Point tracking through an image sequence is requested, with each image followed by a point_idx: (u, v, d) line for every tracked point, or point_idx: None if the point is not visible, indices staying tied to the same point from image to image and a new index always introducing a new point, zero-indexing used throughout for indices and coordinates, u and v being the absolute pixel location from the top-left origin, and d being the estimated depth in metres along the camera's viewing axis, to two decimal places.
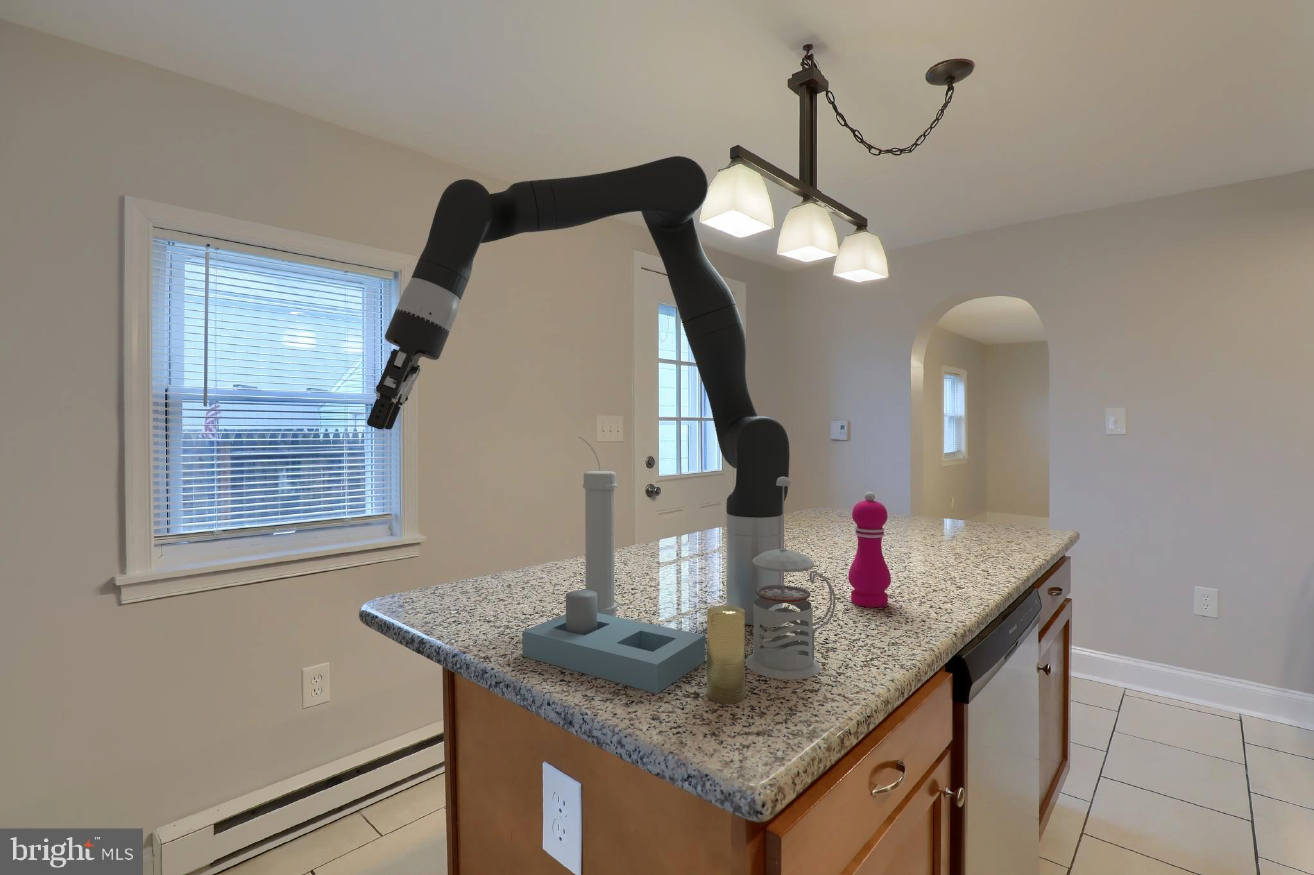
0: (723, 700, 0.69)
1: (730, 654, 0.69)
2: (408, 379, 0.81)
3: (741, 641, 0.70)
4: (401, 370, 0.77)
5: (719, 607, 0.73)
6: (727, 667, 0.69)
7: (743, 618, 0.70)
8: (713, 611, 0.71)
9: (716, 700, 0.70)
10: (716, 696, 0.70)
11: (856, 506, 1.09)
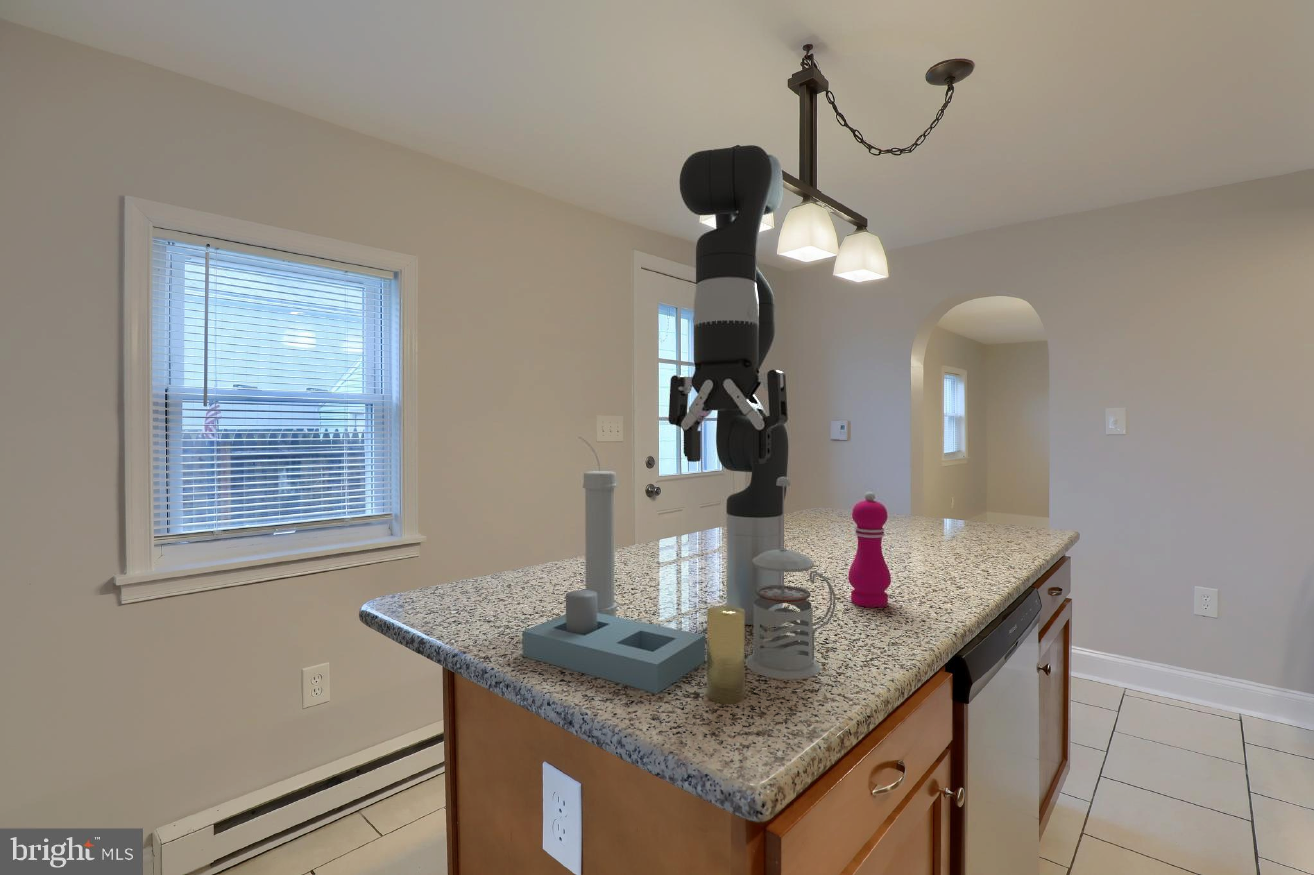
0: (723, 700, 0.69)
1: (730, 654, 0.69)
2: (755, 398, 0.70)
3: (741, 641, 0.70)
4: (784, 391, 0.68)
5: (719, 607, 0.73)
6: (727, 667, 0.69)
7: (743, 618, 0.70)
8: (713, 611, 0.71)
9: (716, 700, 0.70)
10: (716, 696, 0.70)
11: (856, 506, 1.09)
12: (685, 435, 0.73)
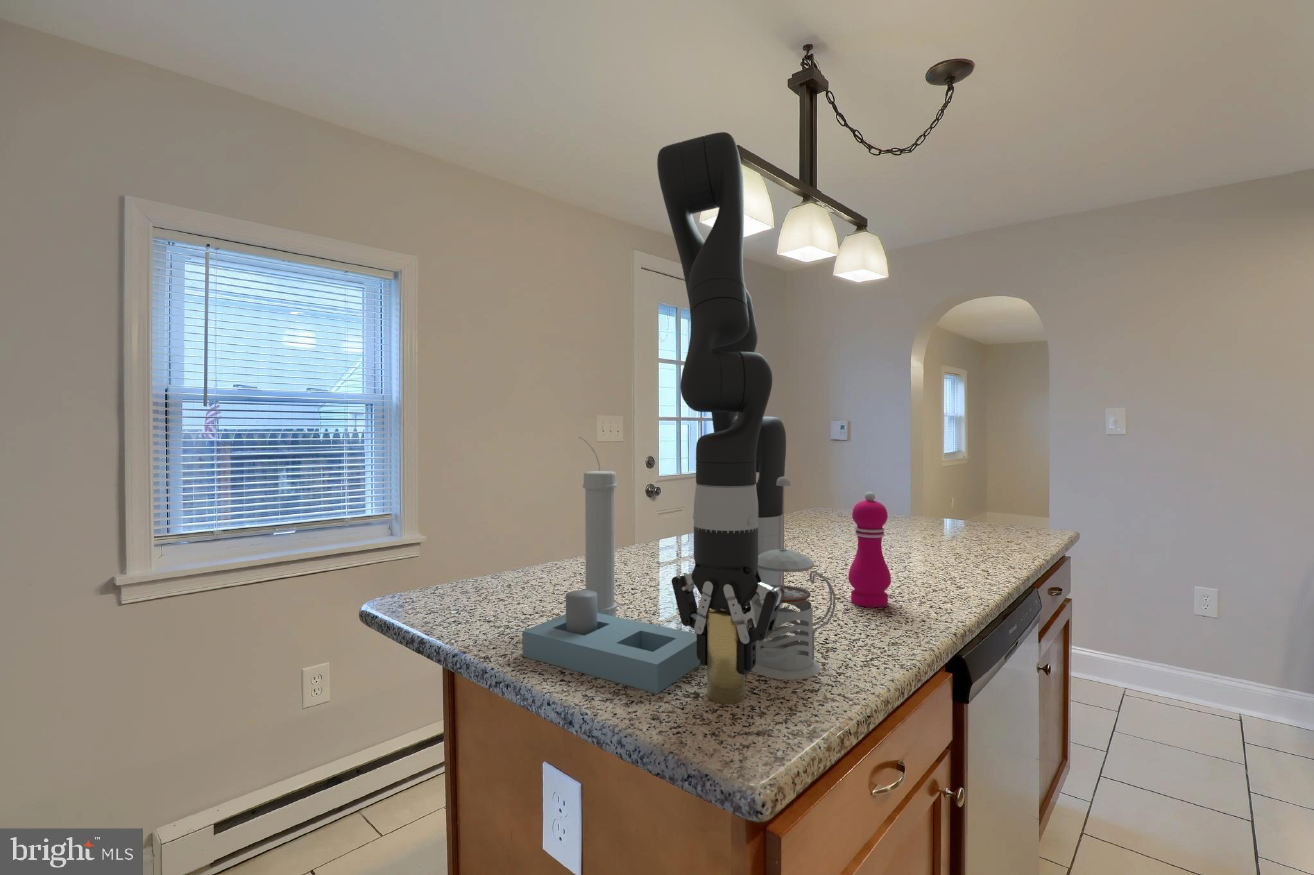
0: (723, 700, 0.69)
1: (730, 654, 0.69)
2: (750, 602, 0.71)
3: None
4: (777, 609, 0.68)
5: None
6: (727, 667, 0.69)
7: None
8: (713, 611, 0.71)
9: (716, 700, 0.70)
10: (716, 696, 0.70)
11: (856, 506, 1.09)
12: (698, 638, 0.72)
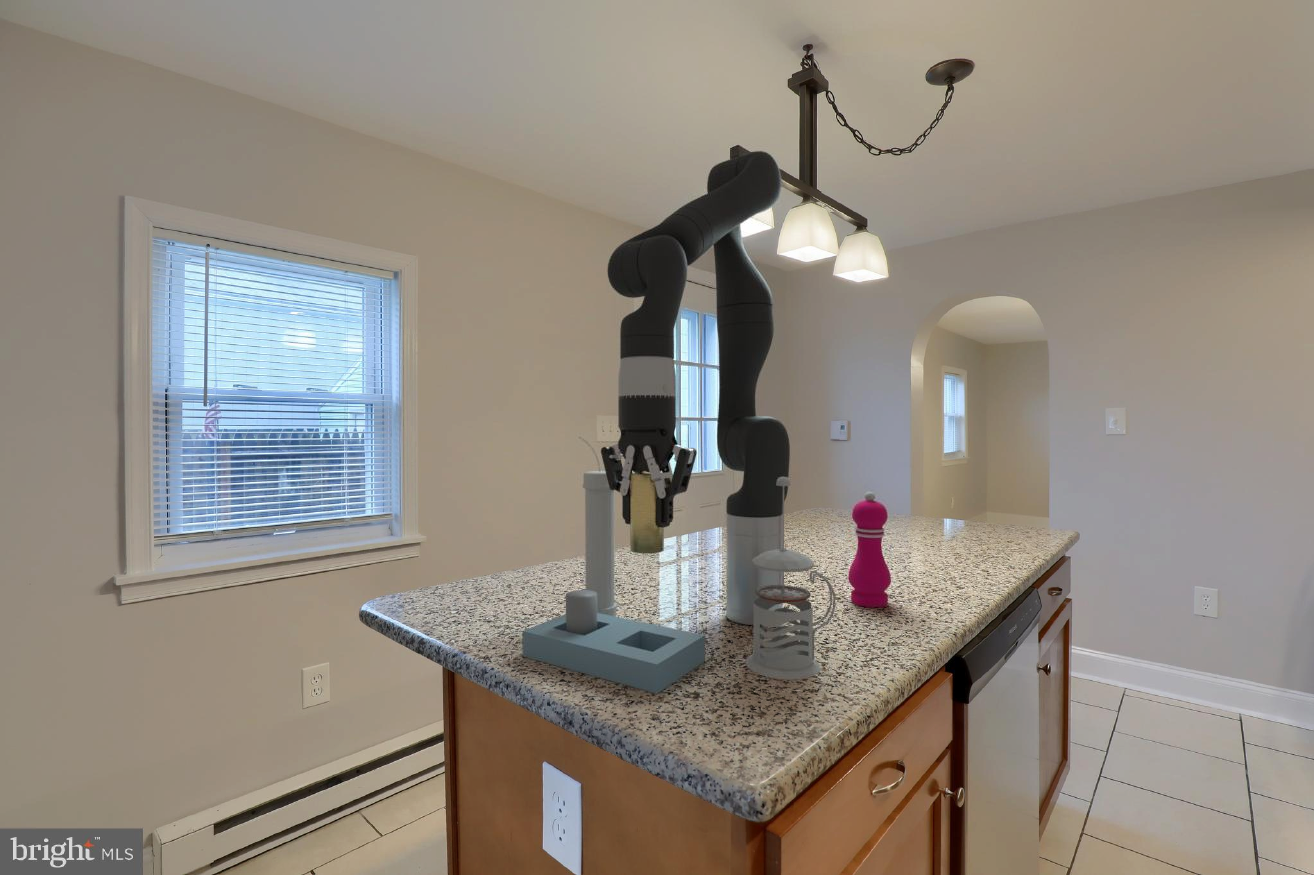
0: (642, 550, 0.77)
1: (649, 508, 0.77)
2: (669, 465, 0.79)
3: None
4: (691, 467, 0.77)
5: None
6: (646, 520, 0.77)
7: None
8: None
9: (637, 551, 0.78)
10: (637, 547, 0.78)
11: (856, 506, 1.09)
12: (624, 500, 0.81)
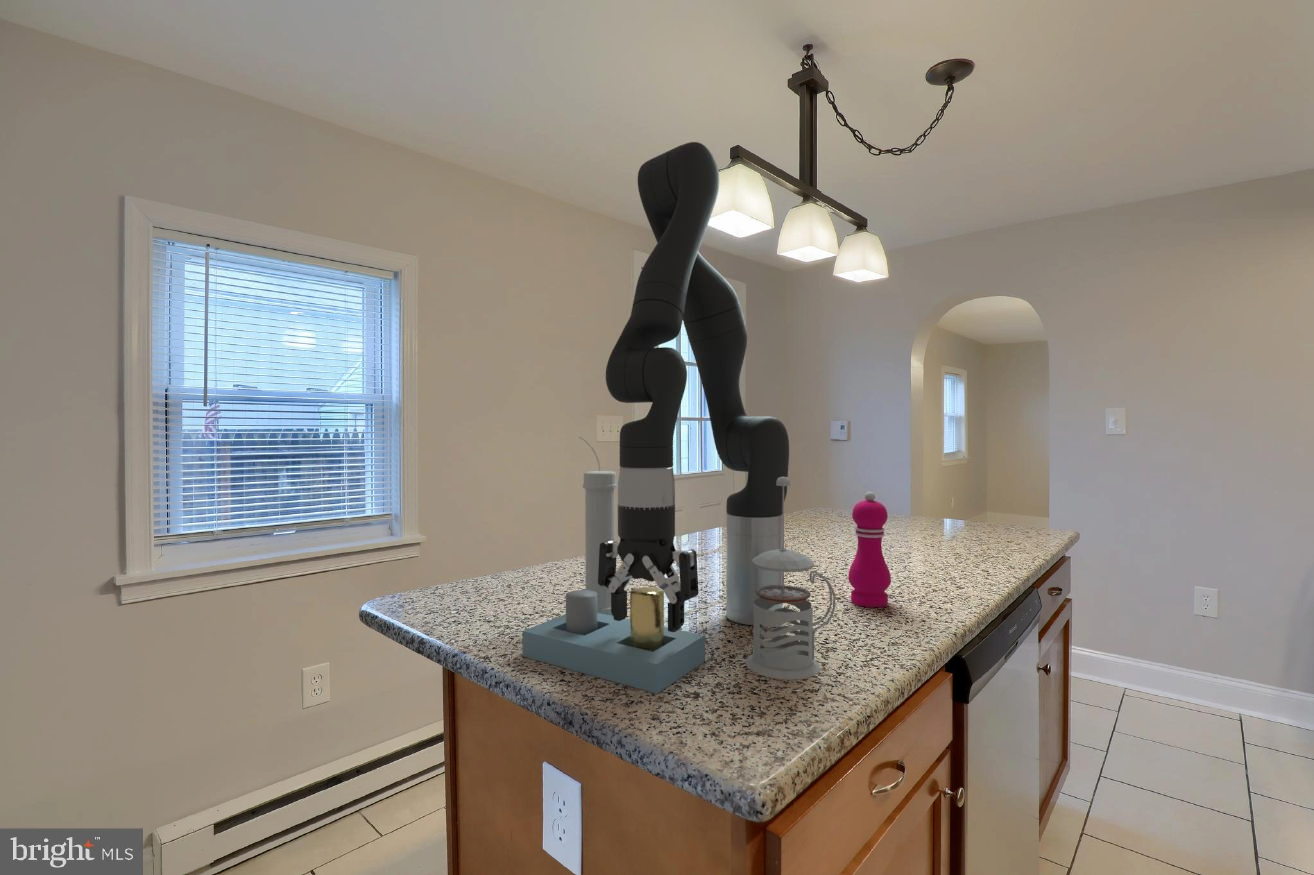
0: None
1: (649, 630, 0.77)
2: (672, 568, 0.79)
3: (659, 619, 0.78)
4: (695, 568, 0.76)
5: (642, 588, 0.81)
6: (646, 642, 0.77)
7: (661, 598, 0.78)
8: (635, 592, 0.79)
9: None
10: None
11: (856, 506, 1.09)
12: (612, 596, 0.82)
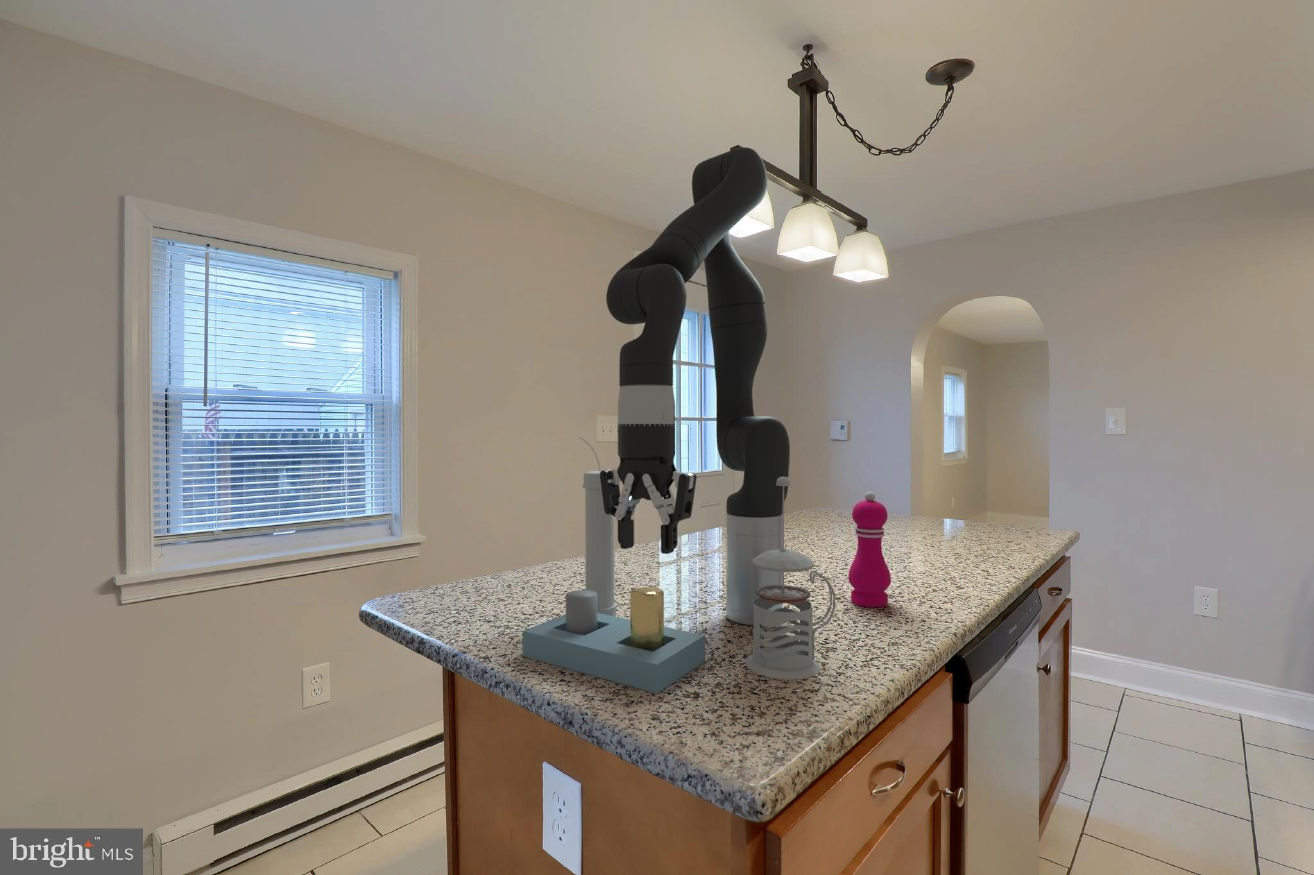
0: None
1: (649, 630, 0.77)
2: (670, 491, 0.79)
3: (659, 619, 0.78)
4: (692, 492, 0.76)
5: (642, 588, 0.81)
6: (646, 642, 0.77)
7: (661, 598, 0.78)
8: (635, 592, 0.79)
9: None
10: None
11: (856, 506, 1.09)
12: (619, 524, 0.81)
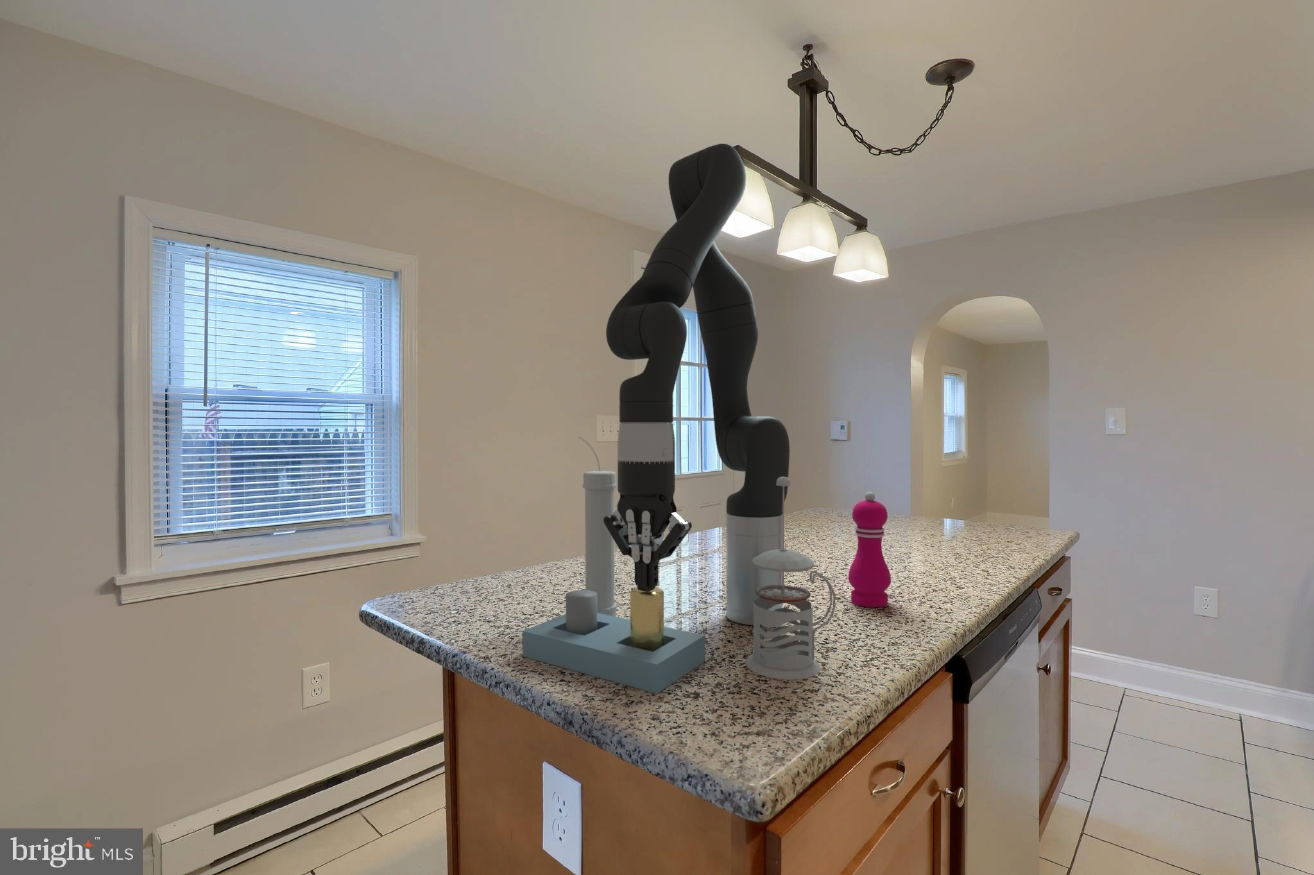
0: None
1: (649, 630, 0.77)
2: None
3: (659, 619, 0.78)
4: (681, 539, 0.77)
5: None
6: (646, 642, 0.77)
7: (661, 598, 0.78)
8: (635, 592, 0.79)
9: None
10: None
11: (856, 506, 1.09)
12: (636, 565, 0.80)
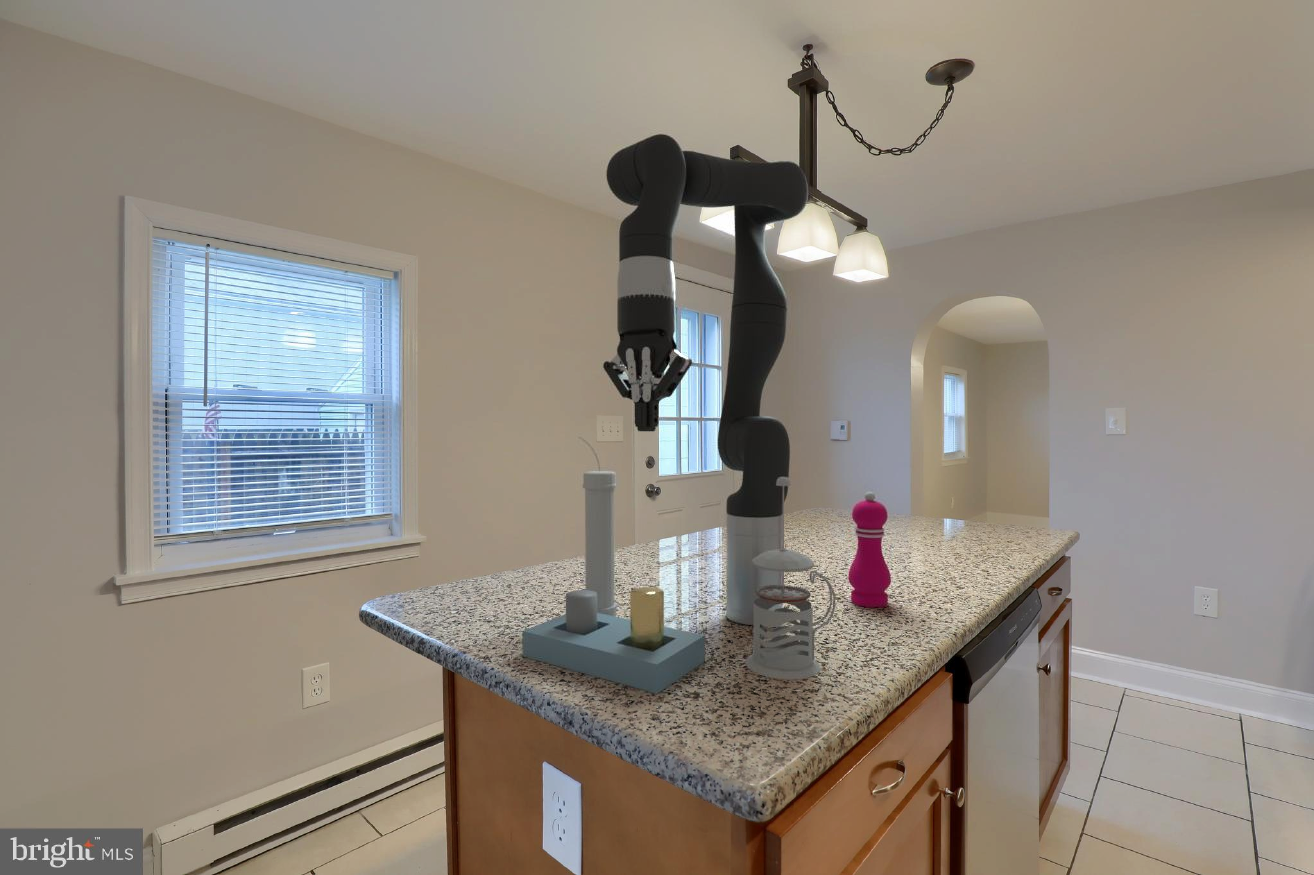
0: None
1: (649, 630, 0.77)
2: (663, 372, 0.79)
3: (659, 619, 0.78)
4: (681, 376, 0.77)
5: (642, 588, 0.81)
6: (646, 642, 0.77)
7: (661, 598, 0.78)
8: (635, 592, 0.79)
9: None
10: None
11: (856, 506, 1.09)
12: (636, 407, 0.79)
